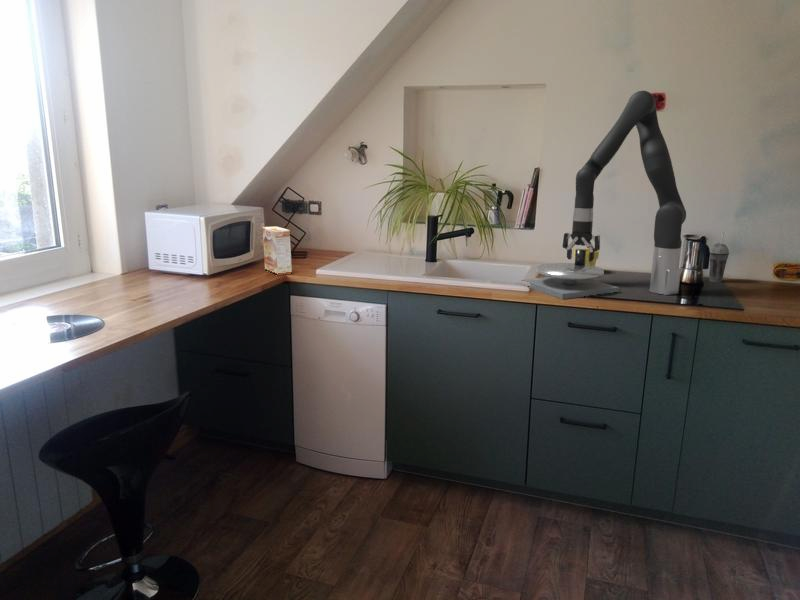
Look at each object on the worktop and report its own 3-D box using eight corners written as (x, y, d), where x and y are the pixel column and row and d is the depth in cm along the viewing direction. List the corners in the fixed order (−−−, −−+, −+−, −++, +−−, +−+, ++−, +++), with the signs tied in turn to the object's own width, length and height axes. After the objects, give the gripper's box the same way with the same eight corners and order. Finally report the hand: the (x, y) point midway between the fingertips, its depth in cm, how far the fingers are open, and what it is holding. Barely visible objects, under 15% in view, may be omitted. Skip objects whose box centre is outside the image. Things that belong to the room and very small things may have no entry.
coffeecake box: (264, 270, 270) (261, 227, 266) (279, 268, 274) (276, 225, 269) (277, 276, 258) (274, 230, 254) (292, 274, 262) (290, 229, 257)
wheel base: (618, 292, 228) (619, 277, 226) (562, 299, 218) (563, 283, 217) (573, 279, 251) (574, 265, 250) (521, 284, 241) (521, 270, 240)
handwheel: (617, 276, 227) (619, 256, 225) (563, 281, 217) (565, 261, 215) (574, 264, 249) (575, 246, 247) (523, 269, 239) (524, 250, 238)
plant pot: (576, 274, 260) (577, 252, 258) (569, 269, 270) (571, 248, 268) (600, 274, 260) (602, 252, 258) (592, 269, 270) (594, 248, 268)
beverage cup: (701, 280, 249) (707, 232, 244) (713, 278, 252) (719, 230, 247) (717, 283, 243) (724, 234, 238) (729, 281, 246) (735, 232, 241)
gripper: (604, 219, 235) (600, 260, 239) (569, 217, 243) (566, 257, 247) (597, 221, 229) (594, 263, 233) (561, 219, 238) (559, 259, 242)
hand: (579, 260), depth 240 cm, fingers open, 8 cm apart
